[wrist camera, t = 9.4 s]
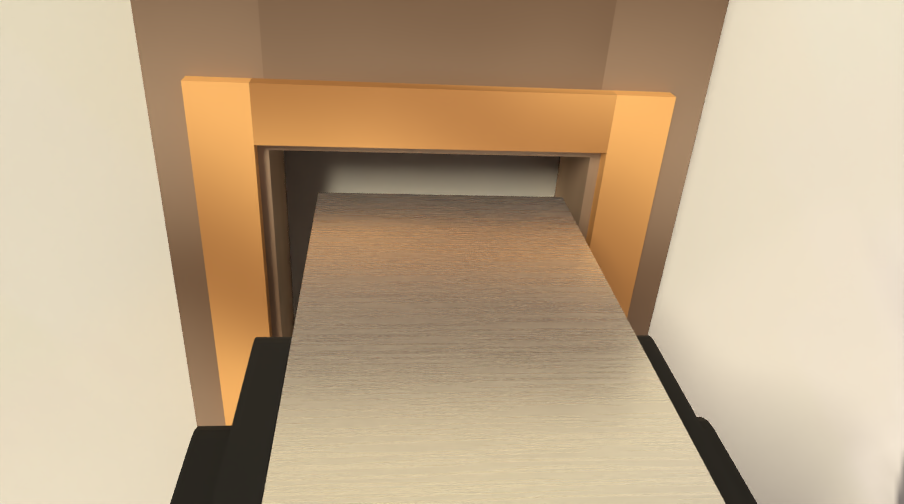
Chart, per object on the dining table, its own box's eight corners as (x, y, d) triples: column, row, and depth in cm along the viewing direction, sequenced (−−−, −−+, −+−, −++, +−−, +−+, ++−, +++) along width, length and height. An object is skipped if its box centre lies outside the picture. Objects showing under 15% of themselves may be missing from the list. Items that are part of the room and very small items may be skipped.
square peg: (533, 383, 15) (736, 1083, 7) (325, 385, 15) (246, 1146, 6) (562, 196, 13) (926, 883, 4) (318, 192, 12) (179, 955, 4)
